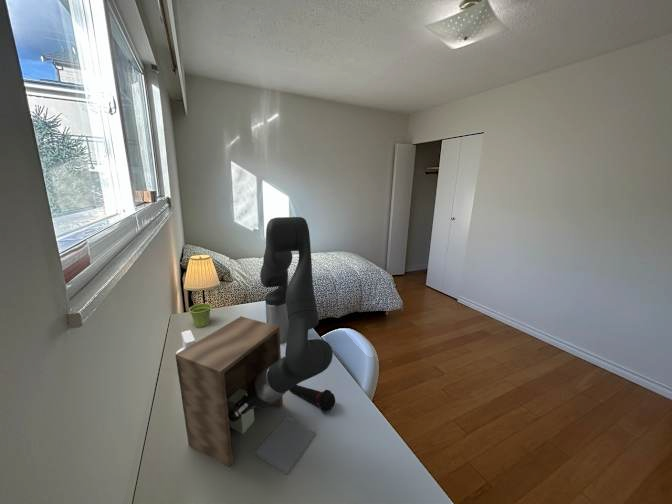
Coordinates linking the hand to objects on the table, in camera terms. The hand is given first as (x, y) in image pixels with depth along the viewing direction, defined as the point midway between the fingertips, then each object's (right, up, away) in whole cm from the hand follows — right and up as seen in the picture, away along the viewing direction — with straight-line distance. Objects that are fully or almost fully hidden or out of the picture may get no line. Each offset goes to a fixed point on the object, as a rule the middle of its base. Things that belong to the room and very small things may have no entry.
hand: (236, 409), depth 75 cm
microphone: (+19, -2, +10) cm, 22 cm away
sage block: (+2, -4, 0) cm, 5 cm away
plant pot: (-36, +9, +53) cm, 65 cm away
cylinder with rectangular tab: (-25, +2, +24) cm, 35 cm away
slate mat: (+15, -6, -5) cm, 17 cm away
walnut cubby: (+1, -4, 0) cm, 4 cm away
